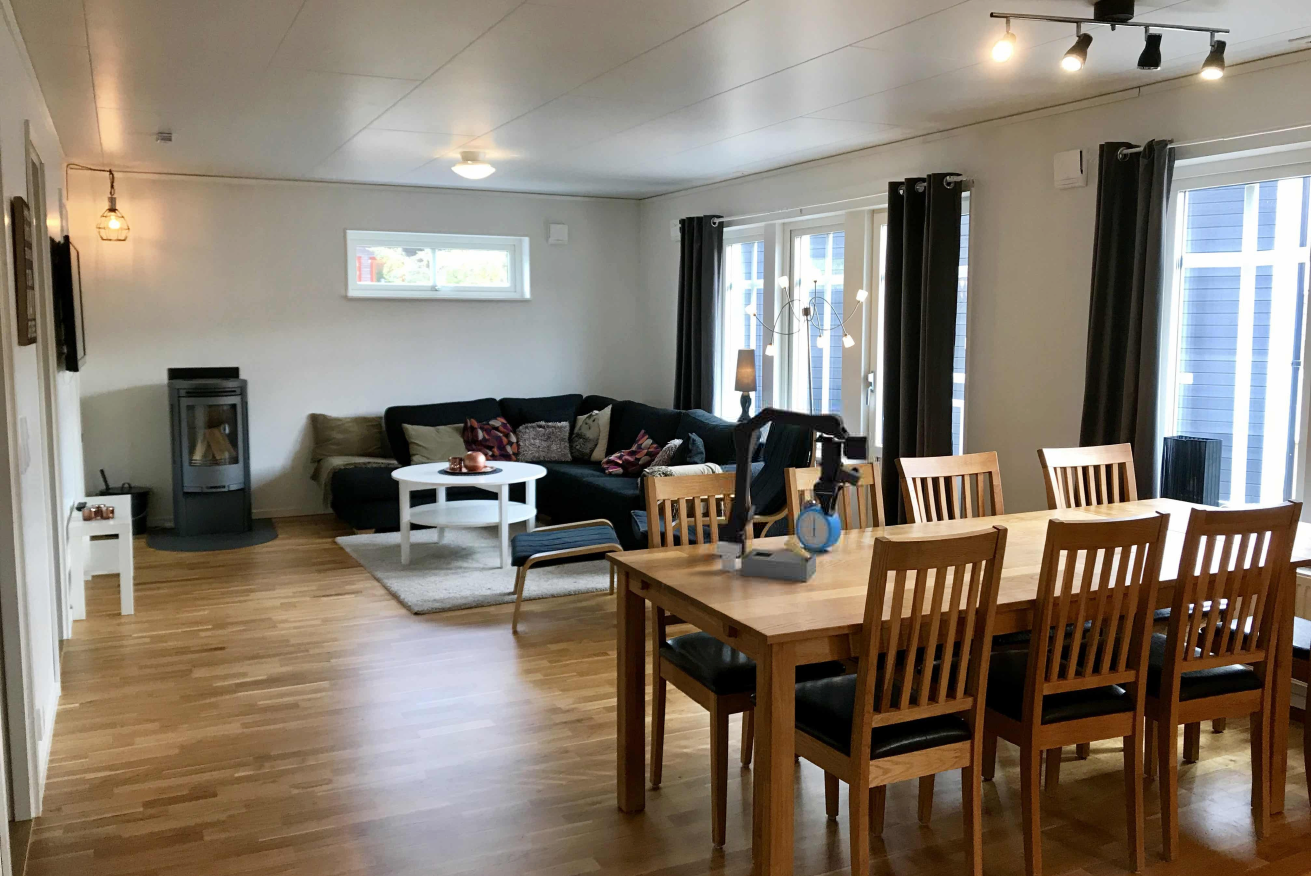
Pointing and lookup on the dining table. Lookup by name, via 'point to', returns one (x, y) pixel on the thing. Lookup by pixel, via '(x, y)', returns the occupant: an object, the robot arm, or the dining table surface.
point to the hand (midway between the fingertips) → (829, 512)
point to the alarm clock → (817, 527)
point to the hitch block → (777, 565)
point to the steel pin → (728, 554)
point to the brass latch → (797, 549)
